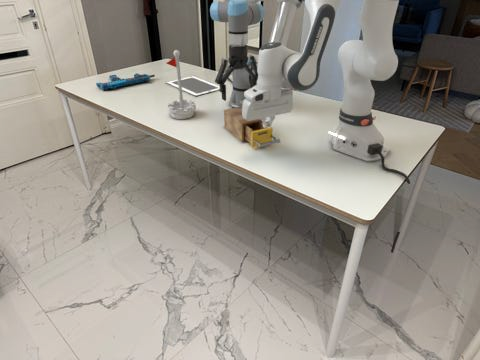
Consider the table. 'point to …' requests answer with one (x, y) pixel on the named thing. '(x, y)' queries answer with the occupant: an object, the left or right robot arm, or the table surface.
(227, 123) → the wooden drawer cabinet
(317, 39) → the right robot arm
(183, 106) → the flag stand
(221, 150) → the table surface
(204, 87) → the tablet
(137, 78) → the submachine gun
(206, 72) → the table surface
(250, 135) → the drawer
